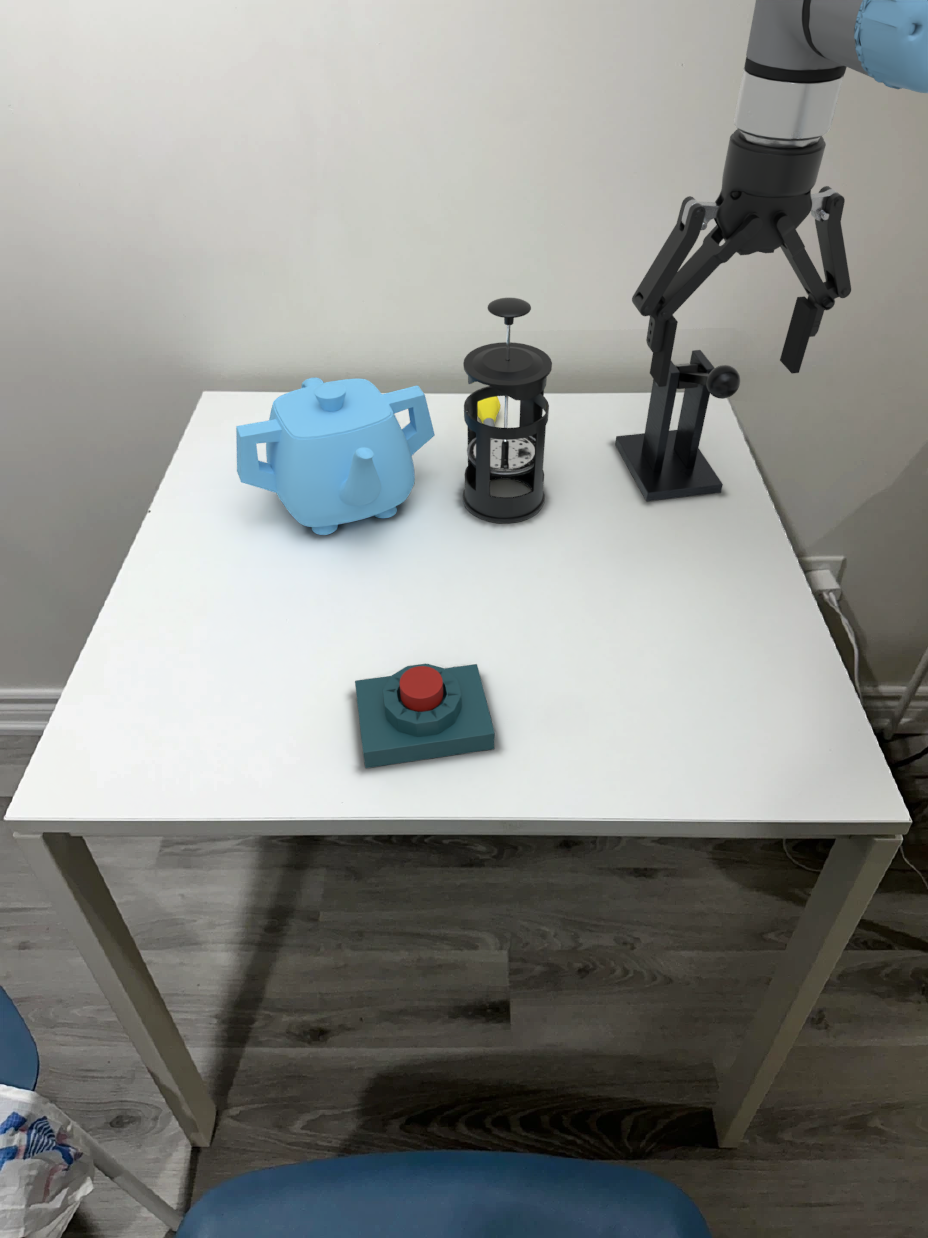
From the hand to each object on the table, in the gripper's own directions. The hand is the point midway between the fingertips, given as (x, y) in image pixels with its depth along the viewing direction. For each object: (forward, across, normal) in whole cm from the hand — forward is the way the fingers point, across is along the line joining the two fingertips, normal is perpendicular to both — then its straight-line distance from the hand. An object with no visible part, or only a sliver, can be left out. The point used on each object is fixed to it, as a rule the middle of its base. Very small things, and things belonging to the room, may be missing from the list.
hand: (724, 373), depth 83 cm
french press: (+17, +20, -7) cm, 27 cm away
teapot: (+17, +38, -8) cm, 42 cm away
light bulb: (+17, +19, -23) cm, 34 cm away
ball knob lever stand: (+17, 0, -9) cm, 19 cm away
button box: (+17, +34, +24) cm, 45 cm away
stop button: (+13, +34, +24) cm, 44 cm away
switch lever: (+4, 0, -4) cm, 6 cm away
